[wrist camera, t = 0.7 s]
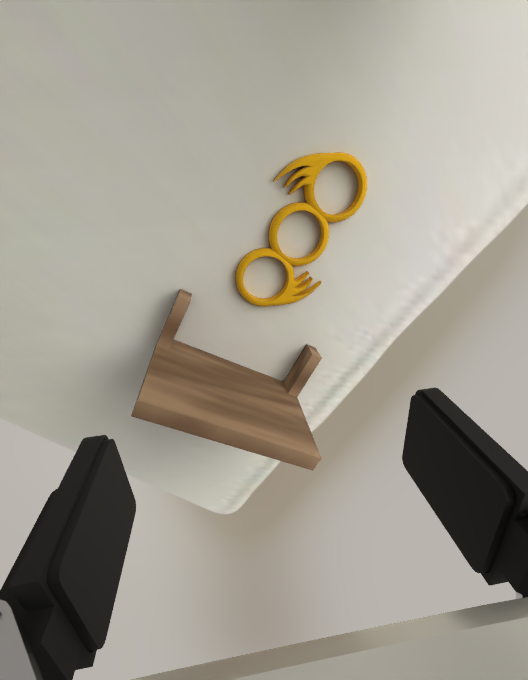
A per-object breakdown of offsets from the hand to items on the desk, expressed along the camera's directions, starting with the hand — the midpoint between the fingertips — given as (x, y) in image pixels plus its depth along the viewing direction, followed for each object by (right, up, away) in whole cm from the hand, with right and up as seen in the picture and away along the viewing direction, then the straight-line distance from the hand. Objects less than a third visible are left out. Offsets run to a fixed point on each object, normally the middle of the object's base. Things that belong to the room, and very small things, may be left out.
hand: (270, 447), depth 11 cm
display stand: (-3, +3, +27) cm, 27 cm away
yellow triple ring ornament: (+3, +14, +23) cm, 27 cm away
